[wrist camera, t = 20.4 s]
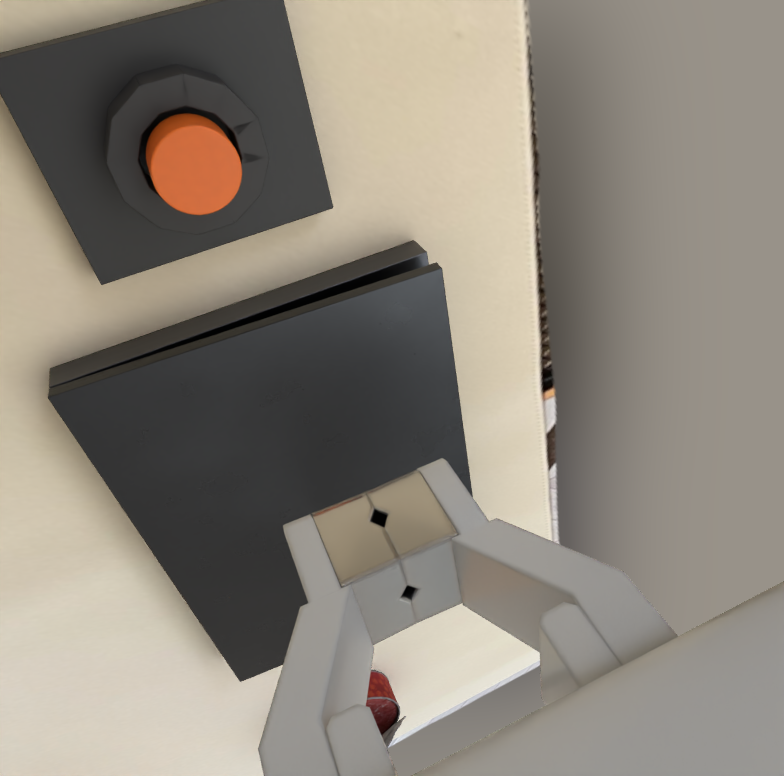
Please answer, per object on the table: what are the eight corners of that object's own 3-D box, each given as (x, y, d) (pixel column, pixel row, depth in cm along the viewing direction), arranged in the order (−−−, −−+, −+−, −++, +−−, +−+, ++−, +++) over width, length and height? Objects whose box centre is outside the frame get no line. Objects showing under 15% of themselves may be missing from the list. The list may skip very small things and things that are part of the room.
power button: (165, 209, 29) (171, 227, 27) (130, 127, 26) (134, 140, 25) (243, 184, 29) (253, 200, 28) (216, 102, 27) (225, 114, 25)
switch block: (100, 274, 32) (103, 306, 30) (-14, 56, 26) (-23, 72, 23) (326, 199, 34) (347, 223, 32) (272, -18, 28) (293, -10, 25)
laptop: (414, 239, 38) (428, 252, 36) (463, 547, 57) (473, 563, 55) (49, 368, 34) (48, 388, 32) (234, 652, 53) (238, 673, 51)
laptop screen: (435, 261, 36) (442, 268, 35) (479, 573, 55) (484, 582, 54) (48, 387, 32) (47, 397, 32) (238, 672, 52) (240, 682, 51)
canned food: (357, 628, 66) (437, 687, 60) (351, 695, 70) (424, 755, 65) (272, 700, 58) (355, 776, 52) (271, 770, 62) (348, 846, 57)
